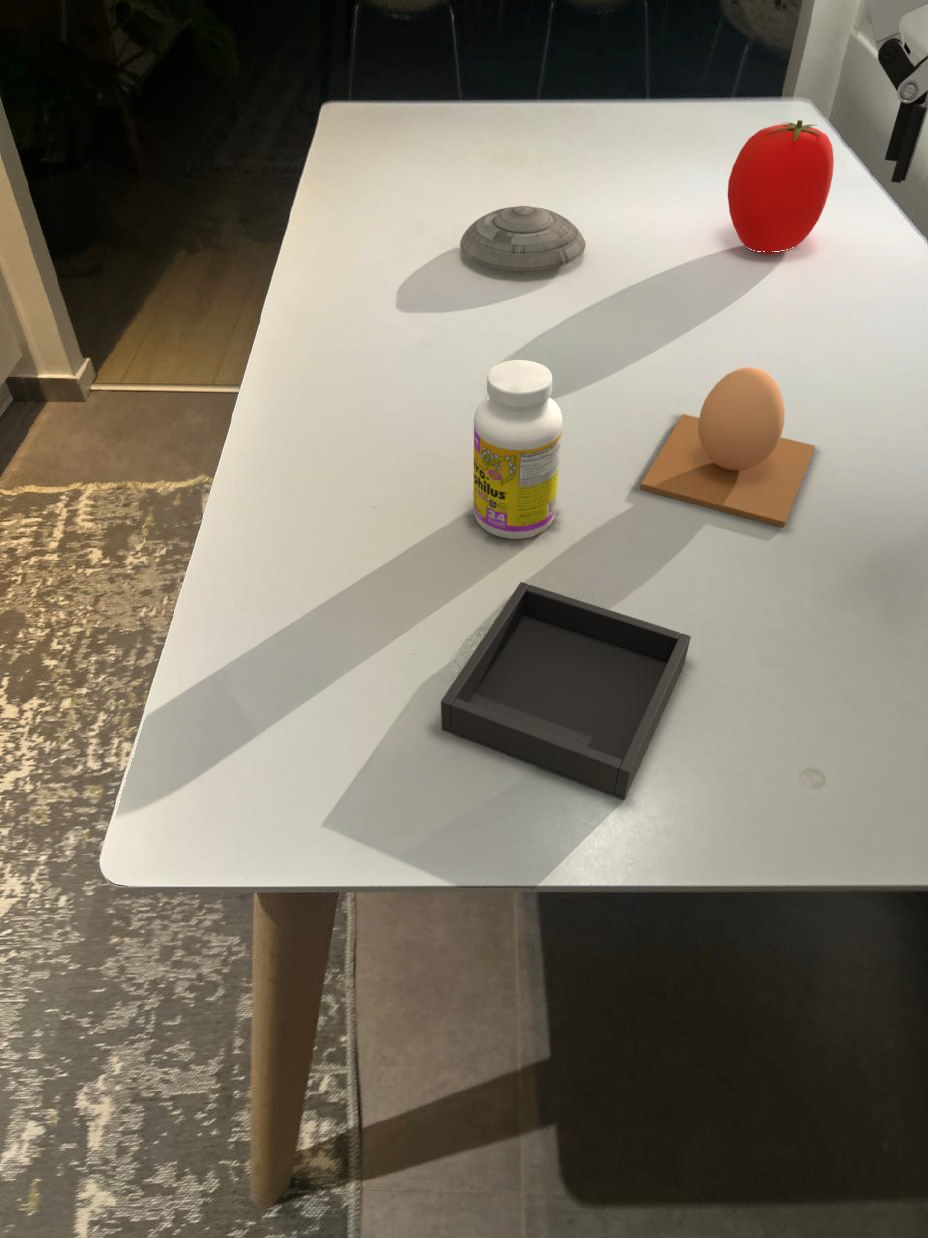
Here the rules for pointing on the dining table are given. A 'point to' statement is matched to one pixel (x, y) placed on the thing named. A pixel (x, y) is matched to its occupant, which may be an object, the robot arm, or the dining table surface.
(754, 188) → the tomato
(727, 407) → the egg
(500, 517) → the supplement bottle
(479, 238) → the flying saucer
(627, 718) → the tray
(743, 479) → the plate
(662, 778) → the dining table surface
